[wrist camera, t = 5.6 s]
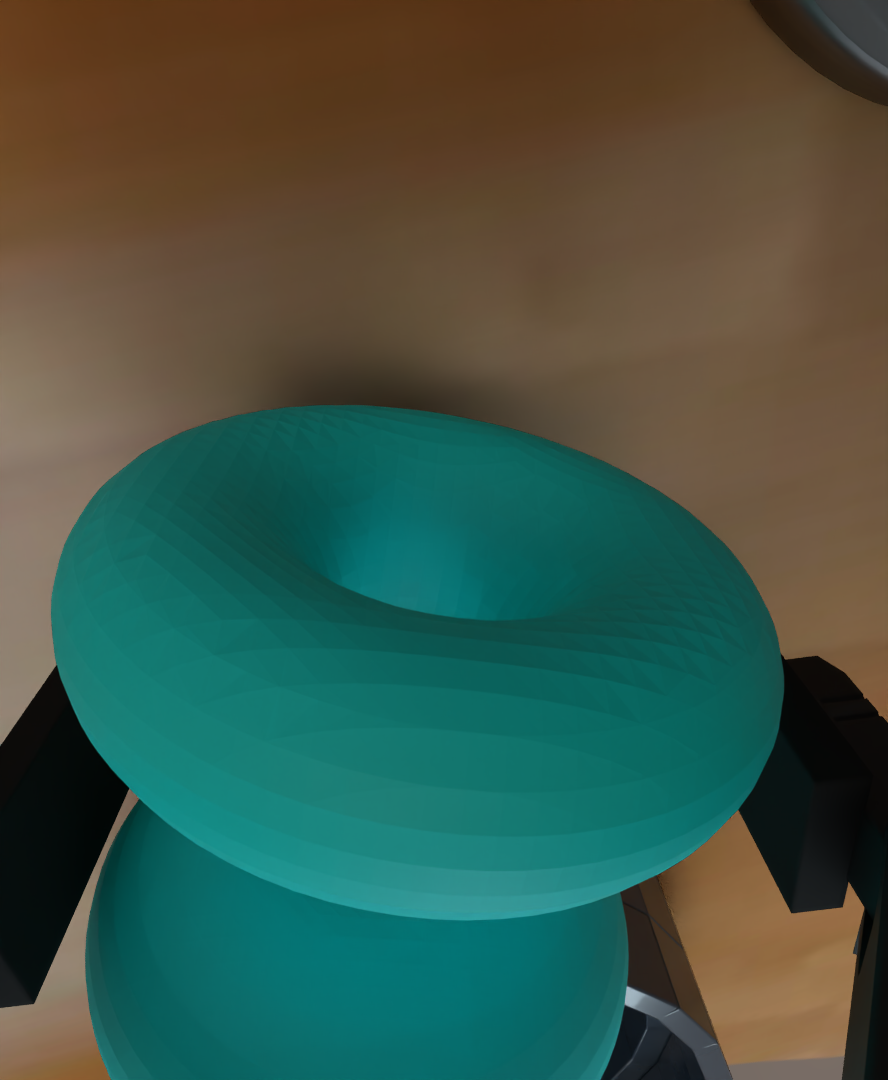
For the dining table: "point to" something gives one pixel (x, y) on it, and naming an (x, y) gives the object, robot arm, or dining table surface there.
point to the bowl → (661, 1001)
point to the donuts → (394, 742)
